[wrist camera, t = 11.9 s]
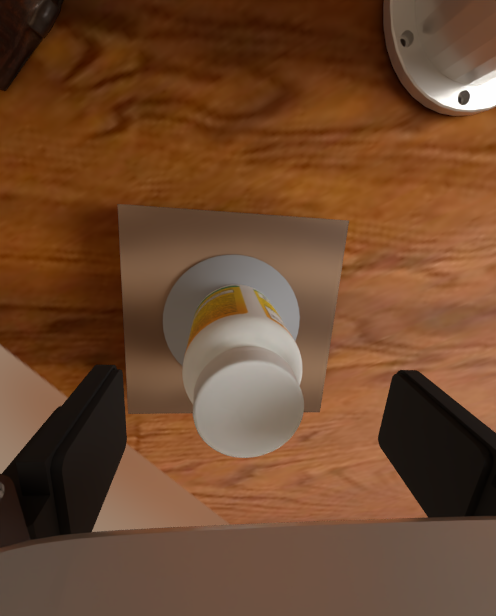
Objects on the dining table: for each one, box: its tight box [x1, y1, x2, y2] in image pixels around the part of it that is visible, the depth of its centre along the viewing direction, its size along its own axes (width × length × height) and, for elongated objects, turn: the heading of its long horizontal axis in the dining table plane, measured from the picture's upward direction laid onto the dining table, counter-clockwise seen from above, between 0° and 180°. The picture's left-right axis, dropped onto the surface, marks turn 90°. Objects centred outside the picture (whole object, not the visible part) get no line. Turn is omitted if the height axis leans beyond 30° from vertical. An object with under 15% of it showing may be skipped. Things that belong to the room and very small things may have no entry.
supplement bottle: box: [182, 284, 304, 458], centre depth 15 cm, size 5×5×10 cm
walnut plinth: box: [118, 204, 349, 414], centre depth 22 cm, size 14×14×4 cm
